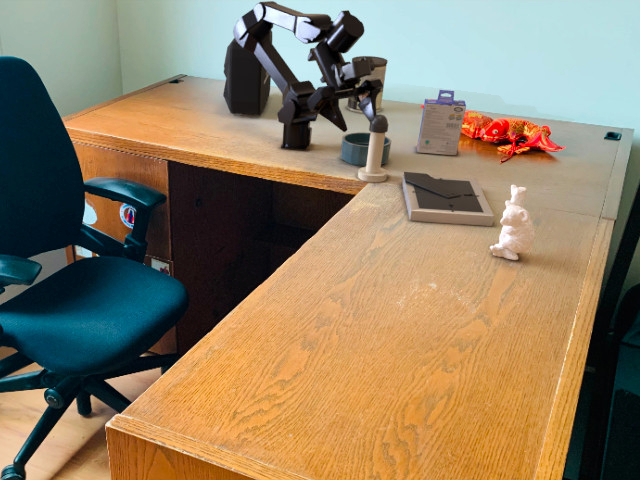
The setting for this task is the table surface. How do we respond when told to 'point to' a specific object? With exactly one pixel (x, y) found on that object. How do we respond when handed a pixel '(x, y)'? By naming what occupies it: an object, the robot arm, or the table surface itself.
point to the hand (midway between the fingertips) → (360, 127)
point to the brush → (375, 151)
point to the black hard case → (245, 81)
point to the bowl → (360, 148)
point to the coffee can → (377, 73)
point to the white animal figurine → (515, 227)
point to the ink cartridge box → (441, 125)
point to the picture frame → (445, 200)
